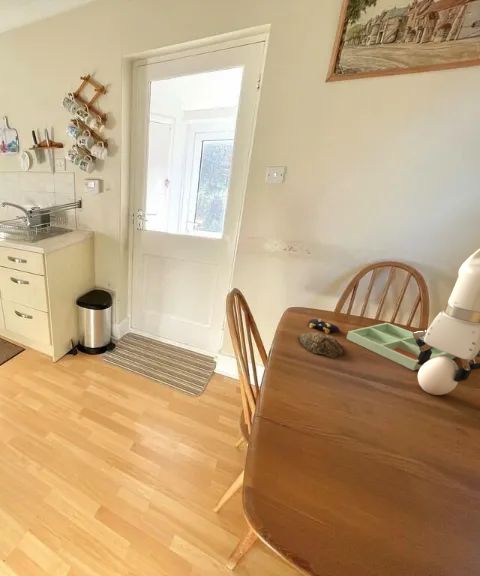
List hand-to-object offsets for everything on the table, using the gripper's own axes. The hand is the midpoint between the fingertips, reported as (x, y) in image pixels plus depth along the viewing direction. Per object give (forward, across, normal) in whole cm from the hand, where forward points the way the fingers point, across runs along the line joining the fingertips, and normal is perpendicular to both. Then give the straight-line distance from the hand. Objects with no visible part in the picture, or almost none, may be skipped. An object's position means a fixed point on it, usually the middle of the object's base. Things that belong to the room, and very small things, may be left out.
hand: (440, 371), depth 85 cm
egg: (+7, 0, 0) cm, 7 cm away
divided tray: (+7, +18, -17) cm, 26 cm away
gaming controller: (+7, +37, -6) cm, 38 cm away
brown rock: (+7, +27, +7) cm, 29 cm away
